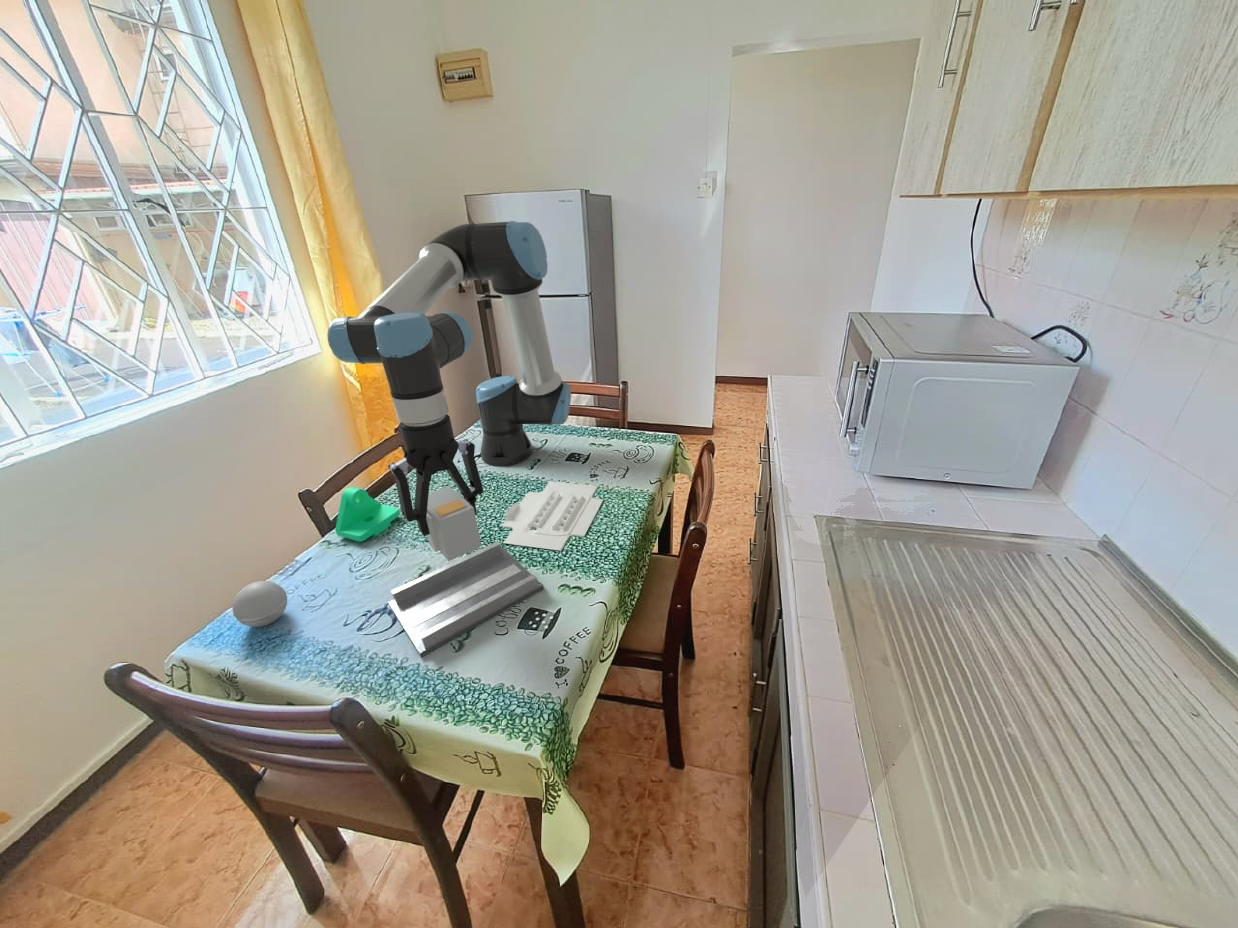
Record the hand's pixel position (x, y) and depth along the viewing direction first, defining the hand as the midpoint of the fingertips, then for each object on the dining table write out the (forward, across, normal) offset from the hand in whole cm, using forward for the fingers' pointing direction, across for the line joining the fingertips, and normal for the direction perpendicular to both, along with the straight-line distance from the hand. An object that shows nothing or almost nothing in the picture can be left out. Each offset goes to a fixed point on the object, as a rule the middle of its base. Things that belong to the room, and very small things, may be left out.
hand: (453, 538), depth 86 cm
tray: (+15, -29, -13) cm, 35 cm away
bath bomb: (+14, +30, -20) cm, 39 cm away
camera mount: (+14, +6, -38) cm, 41 cm away
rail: (+14, 0, 0) cm, 14 cm away
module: (0, 0, 0) cm, 0 cm away
